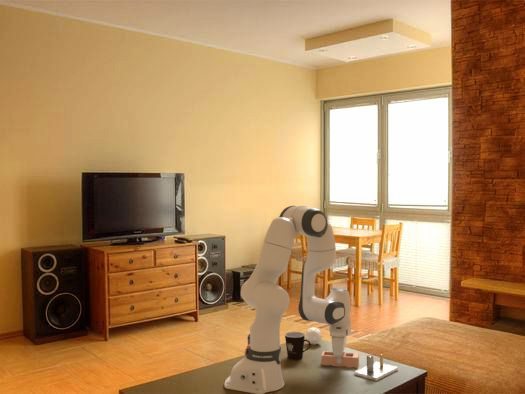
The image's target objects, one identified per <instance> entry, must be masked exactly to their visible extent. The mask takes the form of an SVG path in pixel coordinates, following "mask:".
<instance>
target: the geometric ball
mask: <svg viewBox="0 0 525 394" xmlns="http://www.w3.org/2000/svg"><path fill="white" fill-rule="evenodd" d="M322 338H323V336H322V332H321V330H320V329H319V328H317V327H309V328H308V329H307V330H306V331H305V340H308V341H309V342H310V345H312V346H314V345H319V343H320V342H321V340H322Z"/></svg>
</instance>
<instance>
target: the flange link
mask: <svg viewBox="0 0 525 394" xmlns="http://www.w3.org/2000/svg"><path fill="white" fill-rule="evenodd" d="M320 361H321V363H320V364H321V366H329V365H332V367H333V366H334V367H343V366H346V368H357V367H358V368H359V364H360V353H359V352H347V351H346V352H345V351H344V352H343V355H342V362H341V364H339V363H337V357H336V356H334V355H333V351H330V350H329V351H327V350H323V351H322V353H321V357H320Z"/></svg>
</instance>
